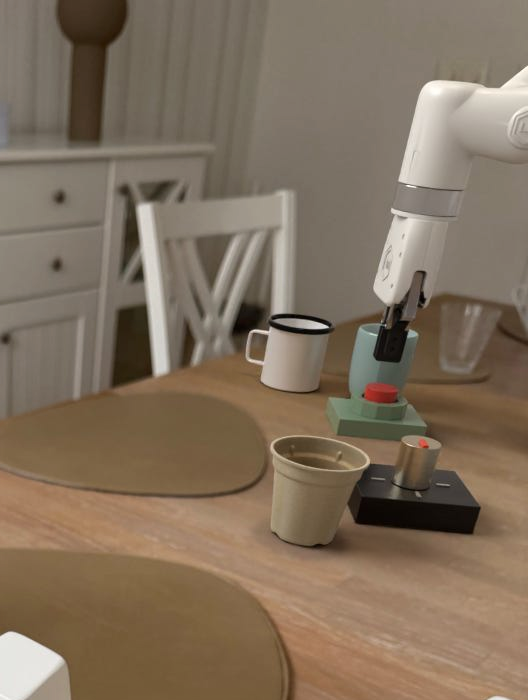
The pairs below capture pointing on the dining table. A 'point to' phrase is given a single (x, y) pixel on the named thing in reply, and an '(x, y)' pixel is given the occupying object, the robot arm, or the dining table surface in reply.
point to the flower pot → (312, 486)
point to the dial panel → (413, 502)
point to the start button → (381, 393)
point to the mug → (293, 351)
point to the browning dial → (416, 462)
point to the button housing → (374, 418)
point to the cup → (374, 371)
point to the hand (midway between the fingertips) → (386, 359)
